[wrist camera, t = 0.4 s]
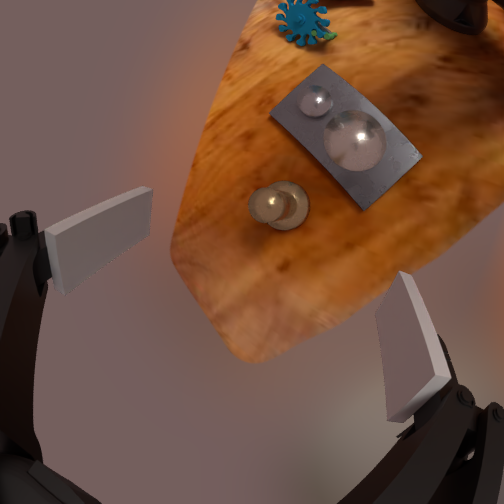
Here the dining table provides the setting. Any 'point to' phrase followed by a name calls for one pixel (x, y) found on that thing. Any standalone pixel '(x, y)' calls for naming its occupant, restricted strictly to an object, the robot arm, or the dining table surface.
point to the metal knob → (280, 205)
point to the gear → (304, 22)
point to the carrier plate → (346, 135)
